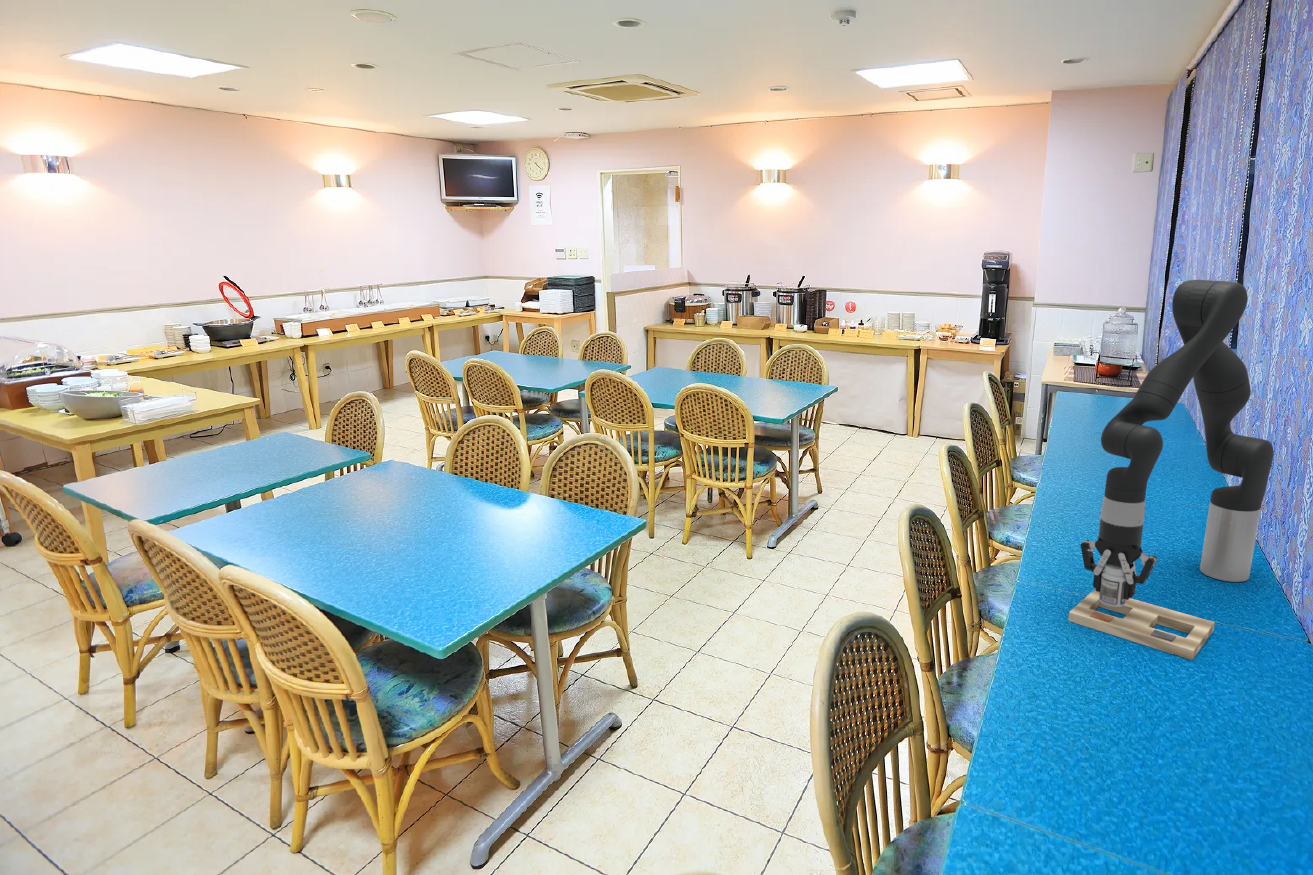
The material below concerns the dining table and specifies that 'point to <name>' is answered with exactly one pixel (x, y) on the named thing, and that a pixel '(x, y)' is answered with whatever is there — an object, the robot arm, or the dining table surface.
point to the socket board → (1145, 625)
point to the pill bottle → (1113, 586)
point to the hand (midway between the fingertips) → (1112, 593)
